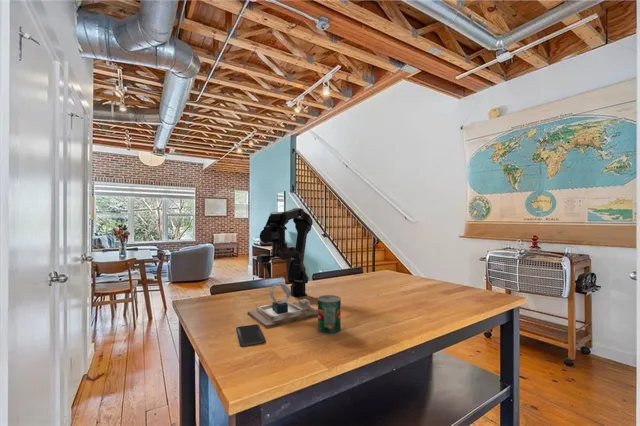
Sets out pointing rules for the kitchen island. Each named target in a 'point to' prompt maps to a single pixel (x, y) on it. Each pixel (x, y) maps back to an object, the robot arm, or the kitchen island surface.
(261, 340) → the phone
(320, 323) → the canned tomato
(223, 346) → the kitchen island surface
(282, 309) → the watch
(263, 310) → the charging board
